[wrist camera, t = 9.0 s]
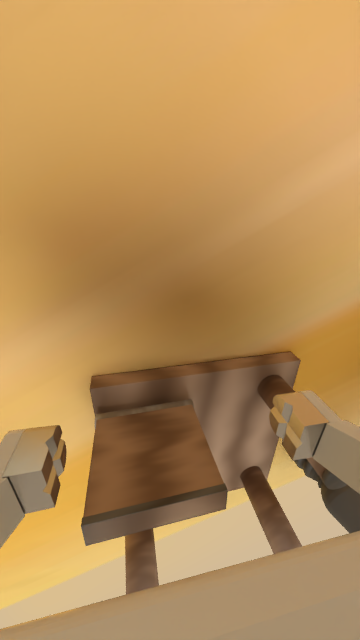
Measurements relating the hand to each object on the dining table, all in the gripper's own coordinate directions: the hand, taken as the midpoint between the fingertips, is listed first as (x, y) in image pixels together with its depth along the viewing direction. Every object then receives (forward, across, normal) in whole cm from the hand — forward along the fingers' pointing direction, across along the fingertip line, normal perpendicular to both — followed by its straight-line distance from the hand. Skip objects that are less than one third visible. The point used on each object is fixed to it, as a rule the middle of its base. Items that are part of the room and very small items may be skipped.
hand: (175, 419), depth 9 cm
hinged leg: (+13, +1, +13) cm, 18 cm away
